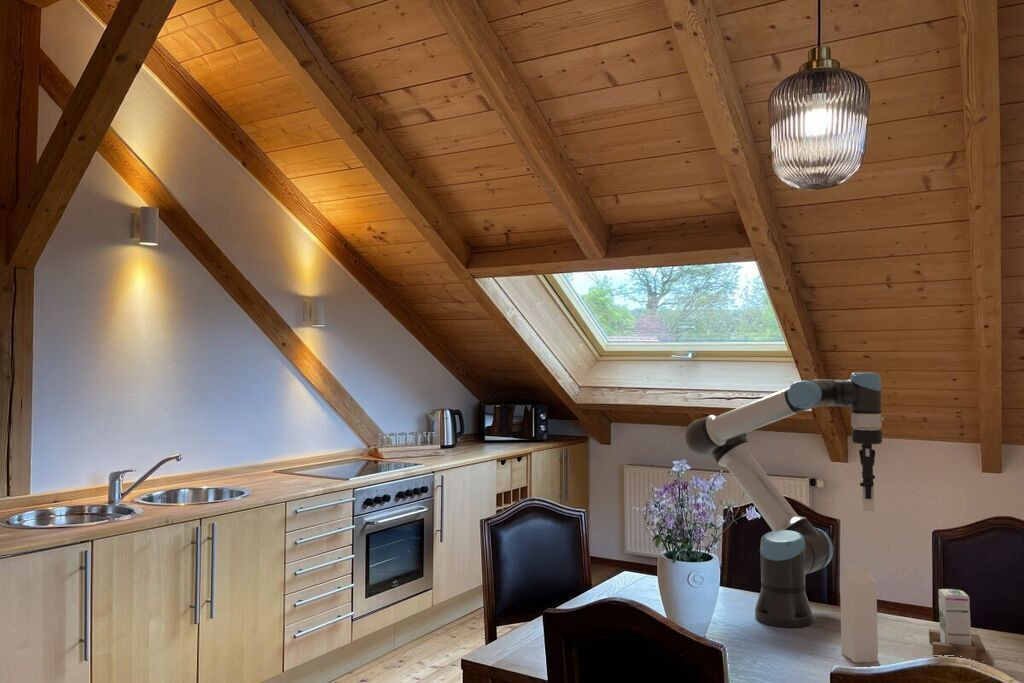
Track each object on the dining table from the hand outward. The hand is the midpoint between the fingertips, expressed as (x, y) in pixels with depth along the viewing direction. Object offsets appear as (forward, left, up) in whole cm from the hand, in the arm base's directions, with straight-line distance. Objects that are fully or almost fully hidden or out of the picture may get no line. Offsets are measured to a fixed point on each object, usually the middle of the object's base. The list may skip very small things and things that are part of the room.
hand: (868, 506), depth 215 cm
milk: (-3, -28, -32) cm, 43 cm away
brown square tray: (+18, -15, -32) cm, 39 cm away
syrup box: (+19, -15, -32) cm, 40 cm away
